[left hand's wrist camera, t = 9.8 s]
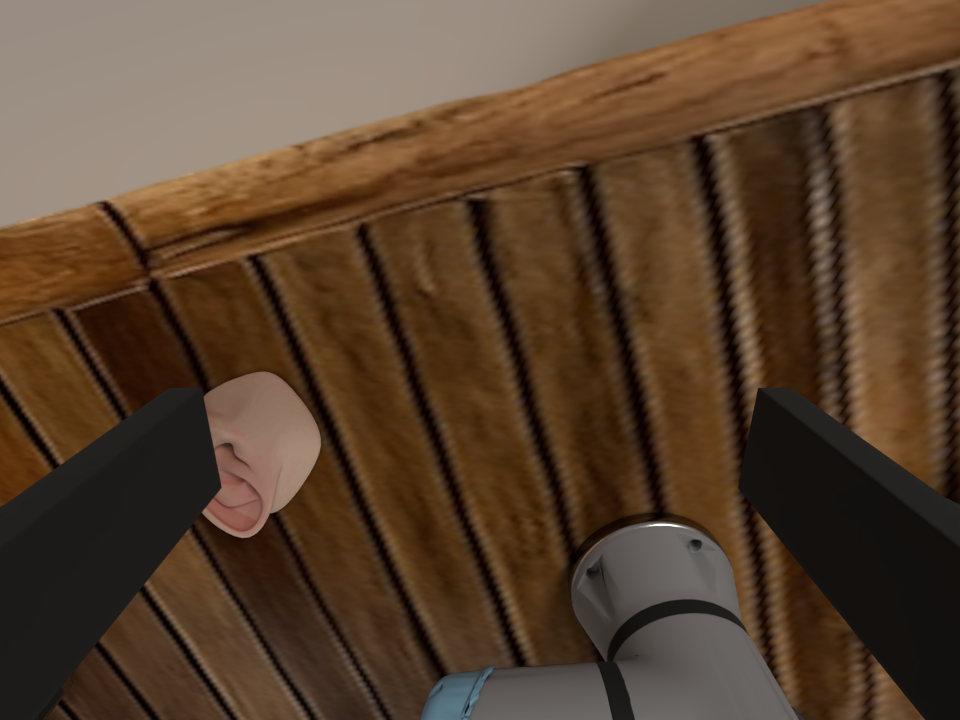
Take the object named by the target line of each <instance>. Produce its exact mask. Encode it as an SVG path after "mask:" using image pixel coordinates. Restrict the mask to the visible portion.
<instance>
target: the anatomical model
mask: <svg viewBox="0 0 960 720" xmlns="http://www.w3.org/2000/svg"><path fill="white" fill-rule="evenodd" d="M204 402H205V406H206V411H207V416H208V421H209V426H210V431H211V436H212V441H213V446H214V451H215V456H216V461H217V466H218V471H219V476H220V481H221V486H222V488H221V489H220V491H219V492H218V493H217V494H216V496H215V497H214V498H213V499H212V501H211V502H210V503H209V504H208V505H207V507H206V508H205V509H204V510H203V512H202V513H203V514H204V515H205V516H206V517H207V518H208V519H209V520H210V521H211V522H212V523H213V524H215V525H216V526H217V527H219V528H220V529H222V530H224V531H225V532H227V533H229V534H231V535H233V536H237V537H241V538H246V537H250V536H253V535H254V534H256V533H257V532H258V531H259V530H260V529H261V528H262V527H263V525H264V524H265V522H266V520H267V518H268V516H269V514H270V513H274V512H277V511H279V510H280V509H282V508H283V507H284V506H285V505H286V504H287V503H288V502H289V501H290V500H291V499H292V498H293V497H294V495H295V494H296V493H297V491H298V490H299V489H300V487H301V486H302V484H303V483H304V481H305V480H306V478H307V477H308V475H309V474H310V472H311V470H312V468H313V466H314V464H315V462H316V460H317V458H318V455H319V452H320V447H321V437H320V433H319V429H318V427H317V424H316V422H315V420H314V418H313V416H312V415H311V413H310V411H309V410H308V408H307V407H306V406H305V404H304V403H303V402H302V400H301V399H300V398H299V397H298V395H297V394H296V393H295V392H294V391H293V389H292V388H291V387H290V386H289V385H288V384H287V383H286V382H284V381H283V380H282V379H281V378H279V377H278V376H276V375H275V374H272V373H269V372H256V373H251V374H247V375H244V376H241V377H239V378H236V379H233V380H230V381H228V382H225V383H224V384H222V385H220V386H218V387H216V388H215V389H213V390H211V391H210V392H208V393H207V394H206V395H205V396H204Z"/></svg>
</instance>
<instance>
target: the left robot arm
mask: <svg viewBox="0 0 960 720" xmlns="http://www.w3.org/2000/svg"><path fill="white" fill-rule="evenodd" d="M221 488H222V486H221V481H220V476H219V471H218V466H217V461H216V456H215V451H214V446H213V441H212V436H211V431H210V426H209V421H208V416H207V411H206V406H205V402H204V397H203V392H202V388H169V389H167V390H166V391H164V392H163V393H161V394H160V395H159V396H157V397H156V398H154V399H153V400H152V401H150V402H149V403H147V404H146V405H145V406H143V407H142V408H140V409H139V410H138V411H136V412H135V413H133V414H132V415H131V416H129V417H128V418H126V419H125V420H123V421H122V422H121V423H119V424H118V425H116V426H115V427H114V428H112V429H111V430H109V431H108V432H107V433H105V434H104V435H102V436H101V437H100V438H98V439H97V440H95V441H94V442H92V443H91V444H90V445H88V446H87V447H85V448H84V449H83V450H81V451H80V452H78V453H77V454H76V455H74V456H73V457H71V458H70V459H69V460H67V461H66V462H64V463H63V464H62V465H60V466H59V467H57V468H56V469H54V470H53V471H52V472H50V473H49V474H47V475H46V476H45V477H43V478H42V479H40V480H39V481H38V482H36V483H35V484H33V485H32V486H31V487H29V488H28V489H26V490H25V491H23V492H22V493H21V494H19V495H18V496H16V497H15V498H14V499H12V500H11V501H9V502H8V503H7V504H5V505H3V506H1V507H0V720H35V719H36V718H37V716H38V715H39V714H40V713H41V712H42V710H43V709H44V708H45V707H46V705H47V704H48V703H49V702H50V700H51V699H52V698H53V697H54V695H55V694H56V693H57V692H58V690H59V689H60V688H61V687H62V685H63V684H64V683H65V682H66V680H67V679H68V678H69V677H70V676H71V674H72V673H73V672H74V671H75V669H76V668H77V667H78V666H79V664H80V663H81V662H82V661H83V659H84V658H85V657H86V656H87V654H88V653H89V652H90V651H91V649H92V648H93V647H94V646H95V644H96V643H97V642H98V641H99V640H100V638H101V637H102V636H103V635H104V633H105V632H106V631H107V630H108V628H109V627H110V626H111V625H112V623H113V622H114V621H115V620H116V618H117V617H118V616H119V615H120V613H121V612H122V611H123V610H124V608H125V607H126V606H127V605H128V604H129V602H130V601H131V600H132V599H133V597H134V596H135V595H136V594H137V592H138V591H139V590H140V589H141V587H142V586H143V585H144V584H145V582H146V581H147V580H148V579H149V577H150V576H151V575H152V574H153V573H154V571H155V570H156V569H157V568H158V566H159V565H160V564H161V563H162V561H163V560H164V559H165V558H166V556H167V555H168V554H169V553H170V551H171V550H172V549H173V548H174V546H175V545H176V544H177V543H178V541H179V540H180V539H181V538H182V537H183V535H184V534H185V533H186V532H187V530H188V529H189V528H190V527H191V525H192V524H193V523H194V522H195V520H196V519H197V518H198V517H199V515H200V514H201V513H202V512H203V510H204V509H205V508H206V507H207V505H208V504H209V503H210V502H211V501H212V499H213V498H214V497H215V496H216V494H217V493H218V492H219V491H220V489H221ZM738 488H739V489H740V491H741V492H742V493H743V494H744V496H745V497H746V498H747V499H748V501H749V502H750V503H751V504H752V505H753V507H754V508H755V509H756V510H757V512H758V513H759V514H760V515H761V517H762V518H763V519H764V520H765V522H766V523H767V524H768V525H769V527H770V528H771V529H772V530H773V532H774V533H775V534H776V535H777V537H778V538H779V539H780V540H781V541H782V543H783V544H784V545H785V546H786V548H787V549H788V550H789V551H790V553H791V554H792V555H793V556H794V558H795V559H796V560H797V561H798V563H799V564H800V565H801V566H802V568H803V569H804V570H805V571H806V573H807V574H808V575H809V576H810V577H811V579H812V580H813V581H814V582H815V584H816V585H817V586H818V587H819V589H820V590H821V591H822V592H823V594H824V595H825V596H826V597H827V599H828V600H829V601H830V602H831V604H832V605H833V606H834V607H835V608H836V610H837V611H838V612H839V613H840V615H841V616H842V617H843V618H844V620H845V621H846V622H847V623H848V625H849V626H850V627H851V628H852V630H853V631H854V632H855V633H856V635H857V636H858V637H859V638H860V640H861V641H862V642H863V643H864V644H865V646H866V647H867V648H868V649H869V651H870V652H871V653H872V654H873V656H874V657H875V658H876V659H877V661H878V662H879V663H880V664H881V666H882V667H883V668H884V669H885V671H886V672H887V673H888V674H889V676H890V677H891V678H892V679H893V680H894V682H895V683H896V684H897V685H898V687H899V688H900V689H901V690H902V692H903V693H904V694H905V695H906V697H907V698H908V699H909V700H910V702H911V703H912V704H913V705H914V707H915V708H916V709H917V710H918V712H919V713H920V714H921V715H922V716H923V718H924V719H925V720H960V504H958V503H956V502H953V501H951V500H949V499H947V498H945V497H944V496H942V495H941V494H939V493H938V492H937V491H935V490H934V489H932V488H931V487H929V486H928V485H927V484H925V483H924V482H922V481H921V480H920V479H918V478H917V477H915V476H914V475H913V474H911V473H910V472H908V471H907V470H906V469H904V468H903V467H901V466H900V465H898V464H897V463H896V462H894V461H893V460H891V459H890V458H889V457H887V456H886V455H884V454H883V453H882V452H880V451H879V450H877V449H876V448H875V447H873V446H872V445H870V444H869V443H868V442H866V441H865V440H863V439H862V438H860V437H859V436H858V435H856V434H855V433H853V432H852V431H851V430H849V429H848V428H846V427H845V426H844V425H842V424H841V423H839V422H838V421H837V420H835V419H834V418H832V417H831V416H829V415H828V414H827V413H825V412H824V411H822V410H821V409H820V408H818V407H817V406H815V405H814V404H813V403H811V402H810V401H808V400H807V399H806V398H804V397H803V396H801V395H800V394H799V393H797V392H796V391H794V390H793V389H791V388H758V392H757V397H756V402H755V406H754V411H753V416H752V421H751V426H750V431H749V436H748V441H747V446H746V451H745V456H744V461H743V466H742V471H741V476H740V481H739V486H738ZM569 591H570V596H571V601H572V605H573V609H574V612H575V614H576V617H577V619H578V620H579V622H580V623H581V625H582V626H583V628H584V629H585V631H586V632H587V634H588V635H589V637H590V638H591V640H592V641H593V643H594V644H595V646H596V647H597V649H598V650H599V652H600V653H601V655H602V656H603V658H604V660H605V661H606V662H588V663H573V664H558V665H543V666H528V667H513V668H498V667H497V666H489V667H487V668H486V669H484V670H476V671H469V672H461V673H453V674H449V675H447V676H445V677H443V678H442V679H441V680H439V681H438V682H437V683H436V684H435V686H434V687H433V689H432V690H431V692H430V694H429V696H428V698H427V701H426V703H425V705H424V708H423V712H422V715H421V718H420V720H806V719H805V718H804V717H803V716H802V715H801V714H800V713H799V712H797V711H796V710H795V709H794V708H793V707H792V706H791V705H790V704H789V702H788V700H787V699H786V697H785V695H784V694H783V692H782V690H781V688H780V687H779V685H778V683H777V682H776V680H775V678H774V677H773V675H772V673H771V671H770V670H769V668H768V666H767V665H766V663H765V661H764V659H763V658H762V656H761V654H760V653H759V651H758V649H757V648H756V646H755V644H754V642H753V641H752V639H751V638H750V636H749V634H748V632H747V631H746V629H745V627H744V625H743V624H742V621H741V615H740V609H739V604H738V598H737V592H736V586H735V580H734V574H733V569H732V566H731V563H730V561H729V559H728V557H727V555H726V554H725V552H724V551H723V549H722V547H721V546H720V544H719V543H718V541H717V540H716V538H715V537H714V536H713V535H712V534H711V533H710V532H709V531H708V530H707V529H706V528H704V527H703V526H701V525H700V524H698V523H696V522H694V521H692V520H690V519H688V518H685V517H682V516H678V515H673V514H667V513H644V514H638V515H633V516H629V517H626V518H623V519H620V520H617V521H615V522H613V523H611V524H609V525H607V526H605V527H603V528H602V529H600V530H599V531H597V532H596V533H595V534H593V535H592V536H591V537H590V538H589V539H588V540H587V541H586V542H585V543H584V544H583V545H582V547H581V548H580V549H579V551H578V552H577V554H576V556H575V558H574V560H573V562H572V565H571V568H570V573H569Z"/></svg>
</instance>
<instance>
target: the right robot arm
mask: <svg viewBox="0 0 960 720" xmlns="http://www.w3.org/2000/svg"><path fill="white" fill-rule="evenodd" d="M63 693H64V691H63V689H62V687H61V688H60V689H59V690H58V692H57V693H56V694H55V695H54V697H53V698H52V699H51V700H50V702H49V703H48V704H47V705H46V707H45V708H44V709H43V710H42V712H41V713H40V714H39V715H38V716H37V718H36V719H35V720H43V719H44V717H45V716H46V715H47V714H48V712H49V711H50V710H51V708H52V707H53V706H54V705H55V703H56V702H57V701H58V700H59V698H60V697H61V696H62V694H63Z"/></svg>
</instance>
